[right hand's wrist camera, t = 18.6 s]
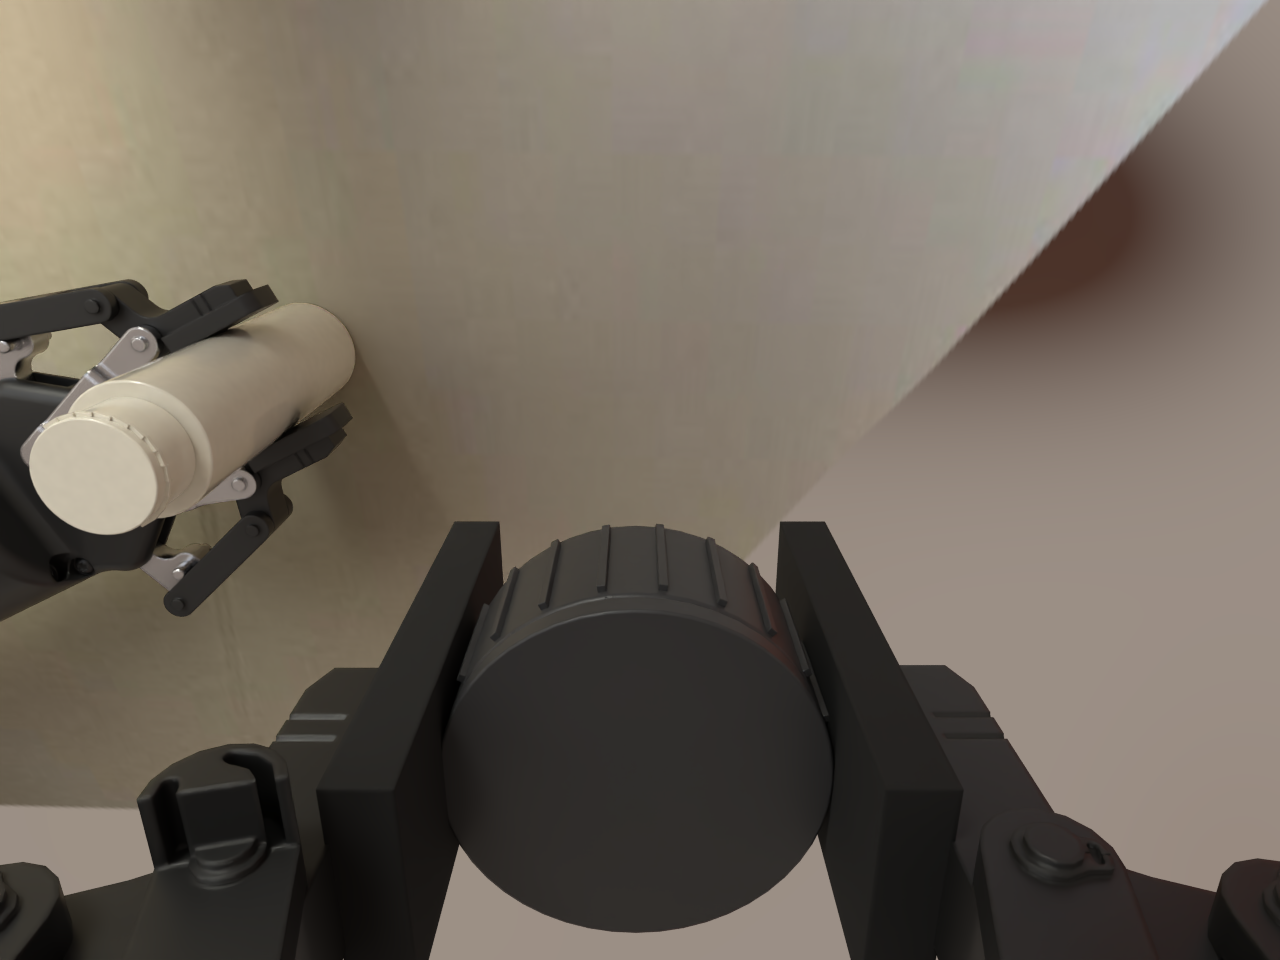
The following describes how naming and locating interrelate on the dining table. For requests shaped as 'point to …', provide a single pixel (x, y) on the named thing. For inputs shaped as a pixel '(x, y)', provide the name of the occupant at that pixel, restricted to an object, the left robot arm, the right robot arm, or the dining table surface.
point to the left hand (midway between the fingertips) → (302, 357)
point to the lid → (636, 734)
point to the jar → (187, 419)
